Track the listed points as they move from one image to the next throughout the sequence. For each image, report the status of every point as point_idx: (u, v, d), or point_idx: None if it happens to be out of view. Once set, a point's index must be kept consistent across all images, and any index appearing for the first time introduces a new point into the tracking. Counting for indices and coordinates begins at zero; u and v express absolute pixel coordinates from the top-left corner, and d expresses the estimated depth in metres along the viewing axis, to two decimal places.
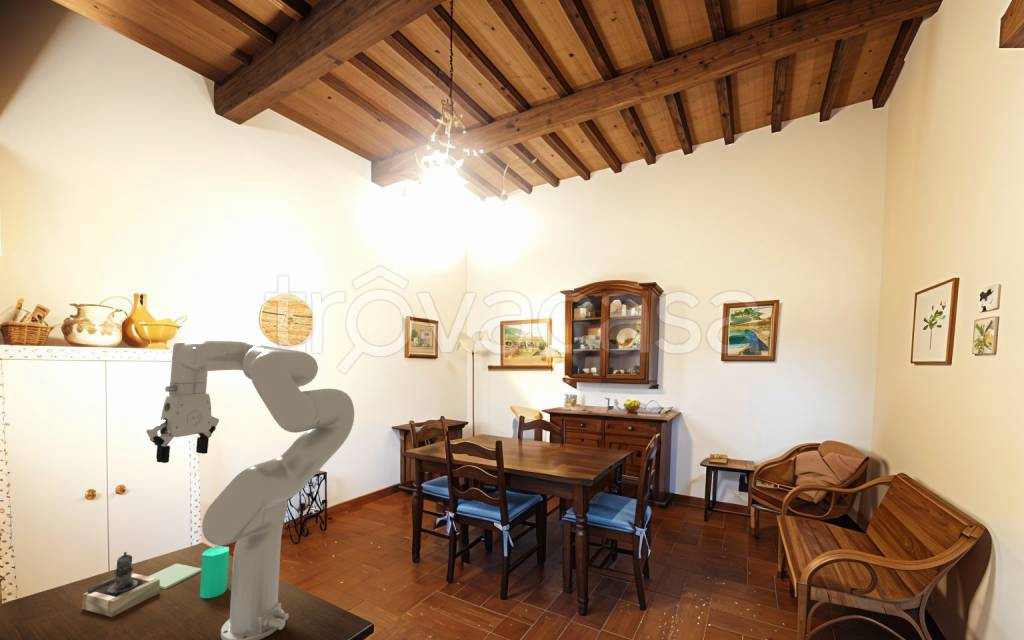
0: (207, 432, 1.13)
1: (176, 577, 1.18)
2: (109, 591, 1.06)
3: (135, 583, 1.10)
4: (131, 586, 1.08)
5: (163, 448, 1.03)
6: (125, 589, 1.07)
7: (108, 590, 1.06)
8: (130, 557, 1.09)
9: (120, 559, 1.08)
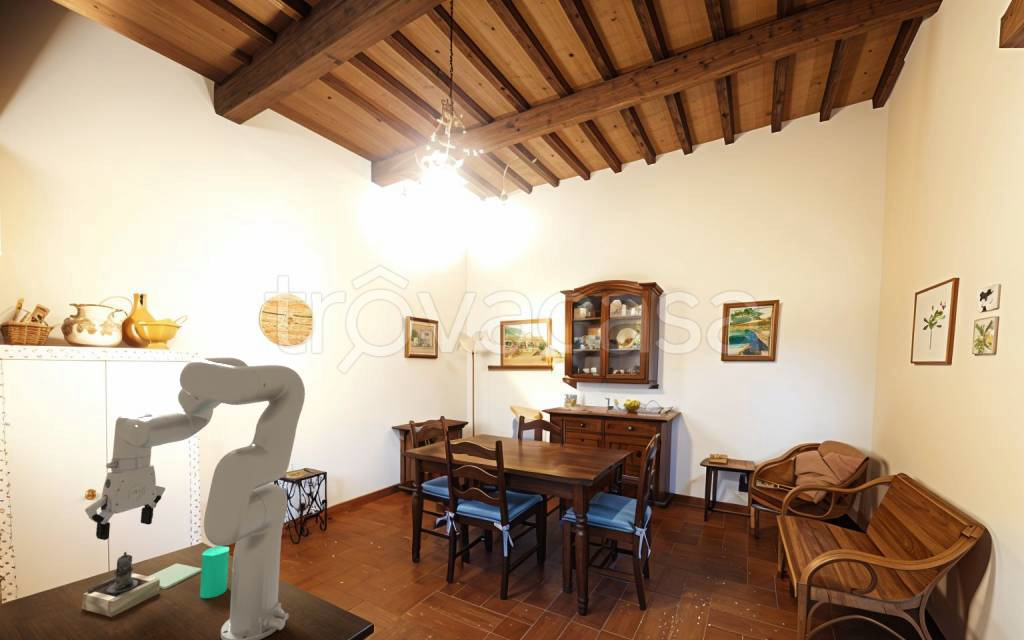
0: (151, 503, 1.14)
1: (176, 577, 1.18)
2: (109, 591, 1.06)
3: (135, 583, 1.10)
4: (131, 586, 1.08)
5: (103, 525, 1.04)
6: (125, 589, 1.07)
7: (108, 590, 1.06)
8: (130, 557, 1.09)
9: (120, 559, 1.08)
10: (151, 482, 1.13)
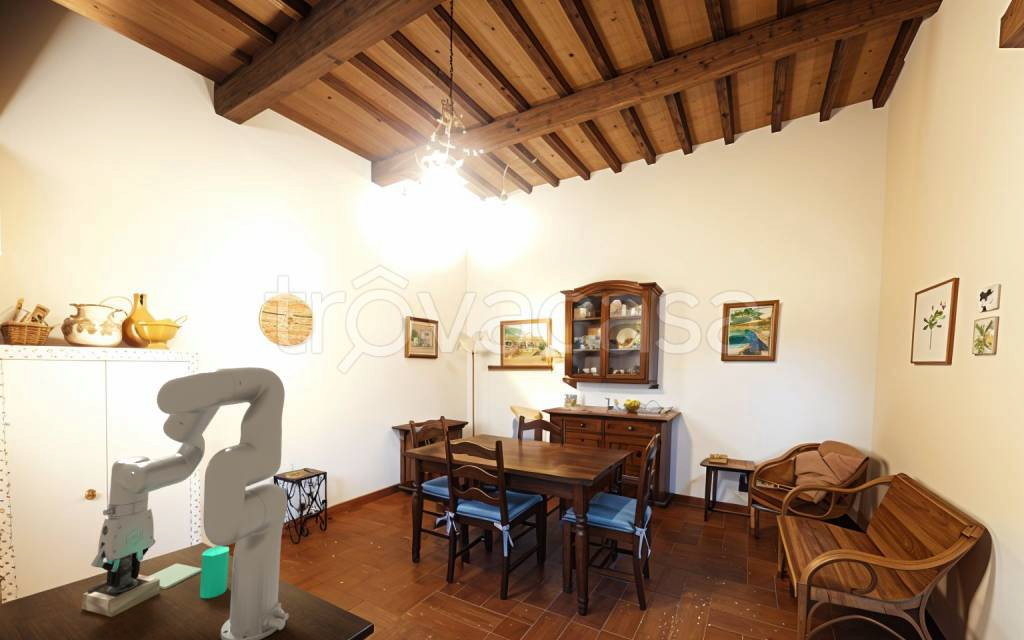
0: (140, 554, 1.11)
1: (176, 577, 1.18)
2: (109, 591, 1.06)
3: (135, 583, 1.10)
4: (131, 586, 1.08)
5: (113, 573, 1.06)
6: (125, 589, 1.07)
7: (108, 590, 1.06)
8: (130, 557, 1.09)
9: (120, 559, 1.08)
10: (149, 526, 1.12)
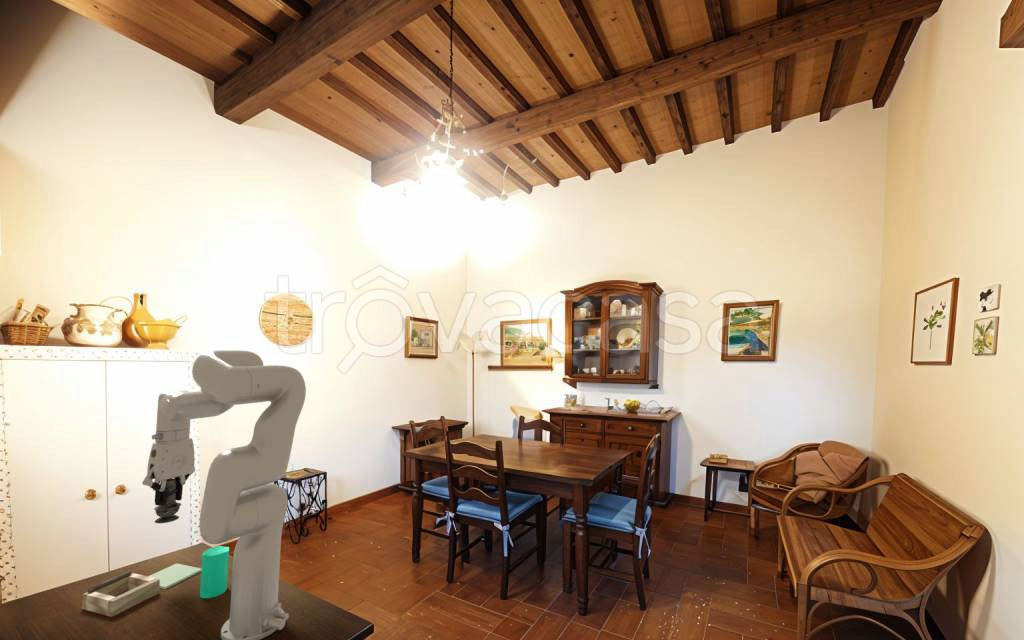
0: (183, 479, 1.22)
1: (176, 577, 1.18)
2: (157, 509, 1.17)
3: (179, 504, 1.20)
4: (176, 506, 1.19)
5: (161, 493, 1.17)
6: (171, 508, 1.18)
7: (155, 508, 1.17)
8: (174, 480, 1.20)
9: (166, 481, 1.18)
10: (190, 453, 1.23)
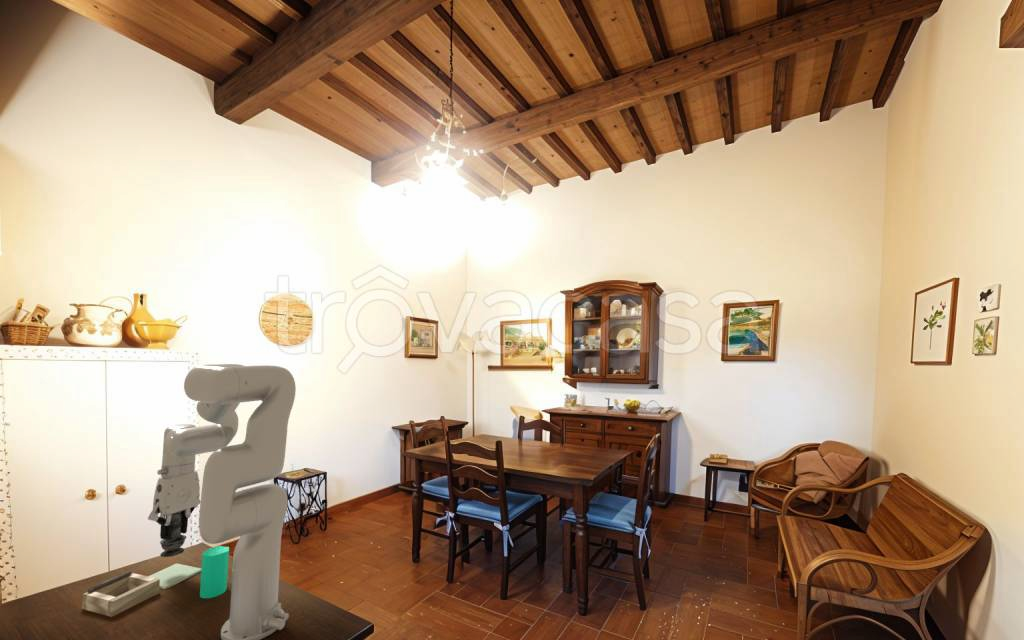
0: (188, 512, 1.23)
1: (176, 577, 1.18)
2: (162, 543, 1.18)
3: (184, 537, 1.22)
4: (181, 539, 1.20)
5: (166, 527, 1.18)
6: (176, 541, 1.19)
7: (161, 542, 1.18)
8: (180, 514, 1.21)
9: None
10: (196, 486, 1.24)
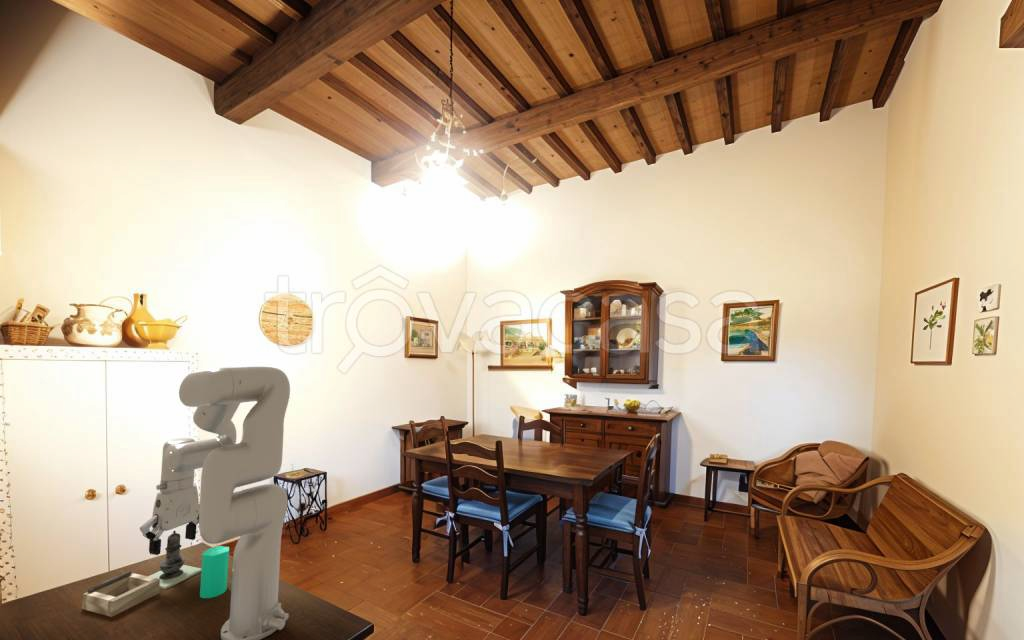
0: (195, 520, 1.25)
1: (176, 577, 1.18)
2: (161, 565, 1.17)
3: (183, 559, 1.21)
4: (180, 561, 1.20)
5: (155, 542, 1.15)
6: (175, 564, 1.18)
7: (160, 565, 1.18)
8: (179, 535, 1.21)
9: (170, 537, 1.19)
10: (195, 501, 1.24)
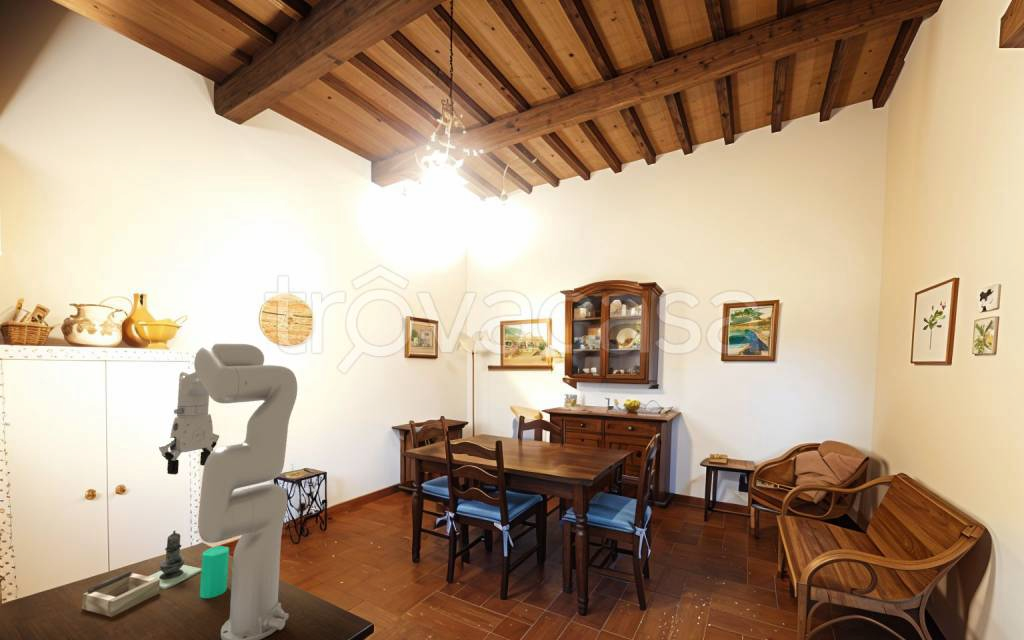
0: (209, 447, 1.32)
1: (176, 577, 1.18)
2: (161, 565, 1.17)
3: (183, 559, 1.21)
4: (180, 561, 1.20)
5: (173, 462, 1.22)
6: (175, 564, 1.18)
7: (160, 565, 1.18)
8: (179, 535, 1.21)
9: (170, 537, 1.19)
10: (209, 428, 1.31)
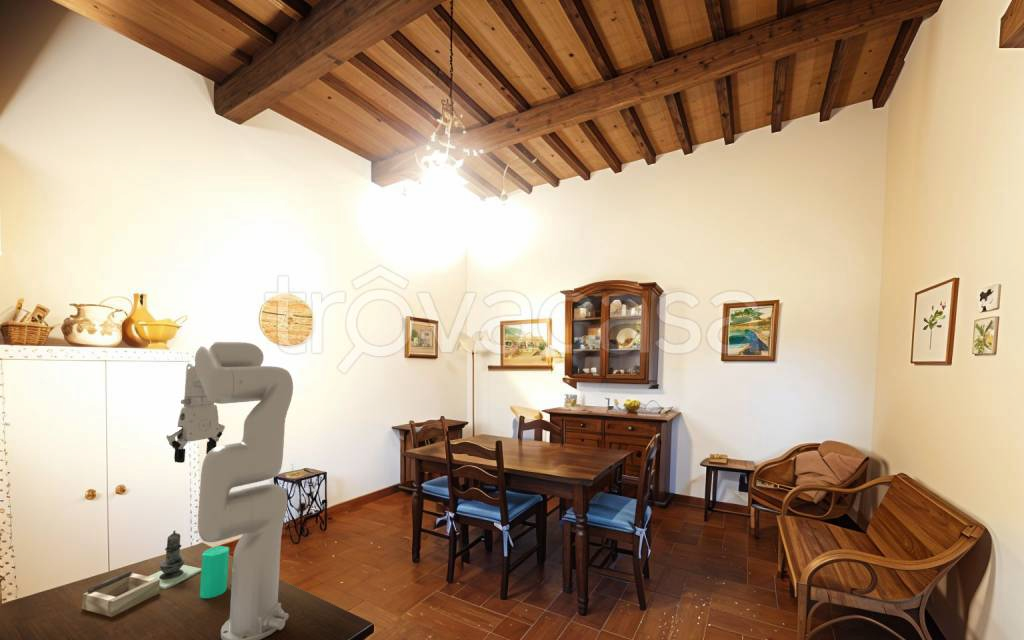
0: (215, 437, 1.35)
1: (176, 577, 1.18)
2: (161, 565, 1.17)
3: (183, 559, 1.21)
4: (180, 561, 1.20)
5: (180, 450, 1.25)
6: (175, 564, 1.18)
7: (160, 565, 1.18)
8: (179, 535, 1.21)
9: (170, 537, 1.19)
10: (215, 419, 1.34)
